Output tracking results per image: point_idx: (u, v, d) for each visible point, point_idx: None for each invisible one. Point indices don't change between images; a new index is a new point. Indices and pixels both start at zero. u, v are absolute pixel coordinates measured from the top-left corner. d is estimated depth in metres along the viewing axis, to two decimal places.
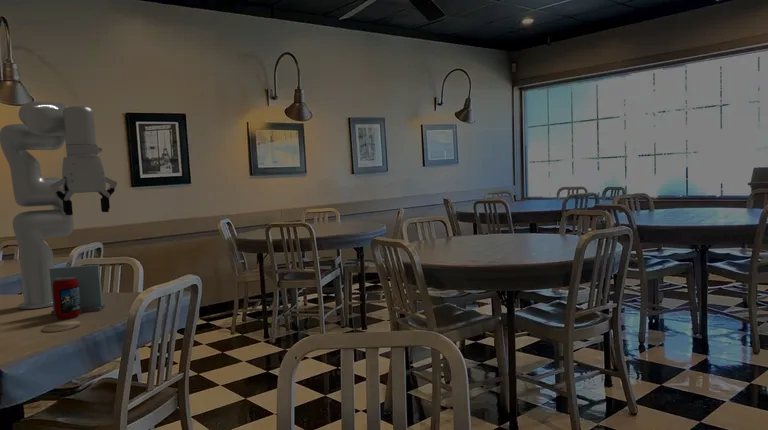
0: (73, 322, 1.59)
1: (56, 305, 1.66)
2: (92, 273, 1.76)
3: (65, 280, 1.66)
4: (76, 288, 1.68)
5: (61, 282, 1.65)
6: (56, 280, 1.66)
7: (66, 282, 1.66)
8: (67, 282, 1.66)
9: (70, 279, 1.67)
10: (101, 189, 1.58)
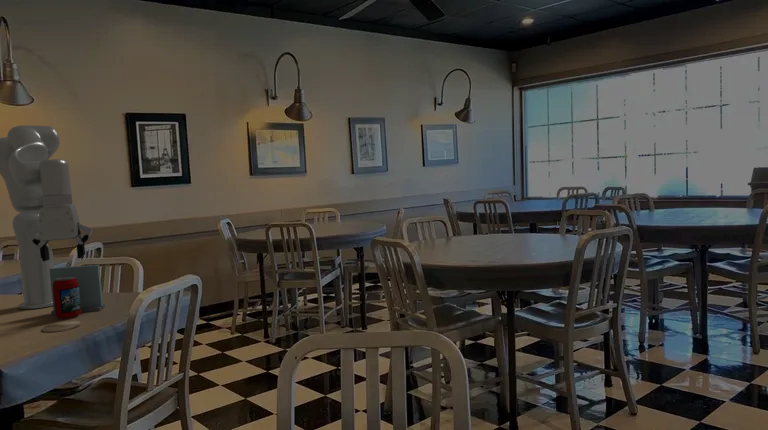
0: (73, 322, 1.59)
1: (56, 305, 1.66)
2: (92, 273, 1.76)
3: (65, 280, 1.66)
4: (76, 288, 1.68)
5: (61, 282, 1.65)
6: (56, 280, 1.66)
7: (66, 282, 1.66)
8: (67, 282, 1.66)
9: (70, 279, 1.67)
10: None
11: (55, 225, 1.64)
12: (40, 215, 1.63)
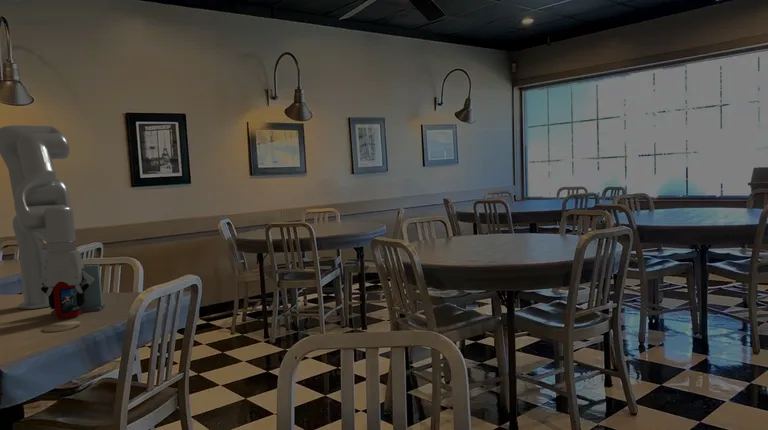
0: (73, 322, 1.59)
1: (56, 305, 1.65)
2: (92, 273, 1.76)
3: None
4: None
5: (61, 282, 1.65)
6: None
7: None
8: None
9: None
10: None
11: (59, 272, 1.65)
12: (44, 262, 1.64)
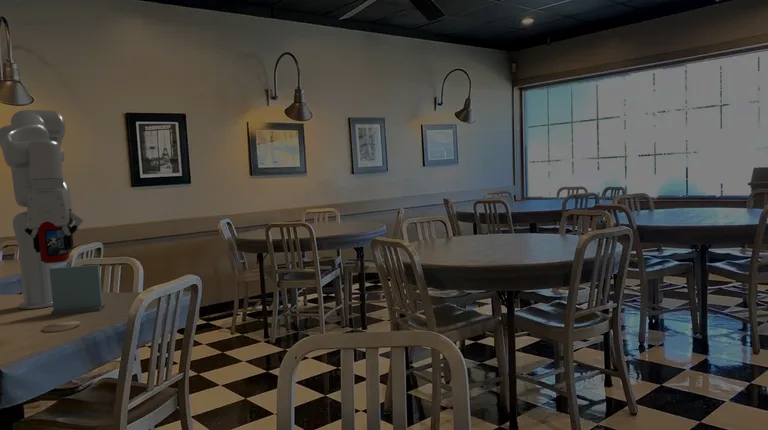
0: (73, 322, 1.59)
1: (41, 247, 1.52)
2: (92, 273, 1.76)
3: None
4: None
5: (47, 222, 1.51)
6: None
7: None
8: None
9: None
10: None
11: (45, 211, 1.51)
12: (29, 200, 1.51)
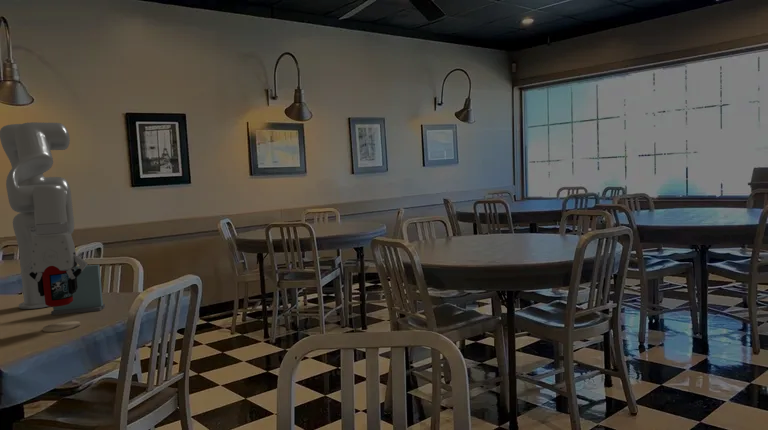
0: (73, 322, 1.59)
1: (46, 292, 1.53)
2: (92, 273, 1.76)
3: None
4: (67, 274, 1.55)
5: (51, 266, 1.52)
6: None
7: (56, 267, 1.53)
8: None
9: None
10: None
11: (49, 256, 1.52)
12: (33, 245, 1.52)
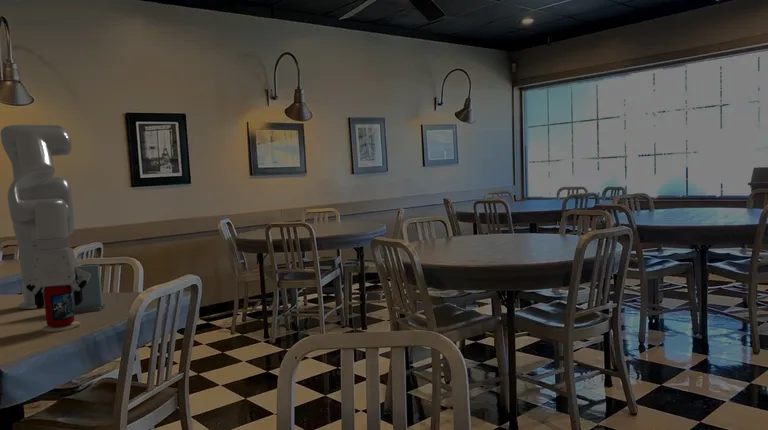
0: (73, 322, 1.59)
1: (47, 312, 1.53)
2: (92, 273, 1.76)
3: None
4: (69, 294, 1.55)
5: (53, 287, 1.53)
6: None
7: (58, 287, 1.53)
8: (60, 287, 1.53)
9: None
10: None
11: (51, 271, 1.52)
12: (35, 260, 1.52)
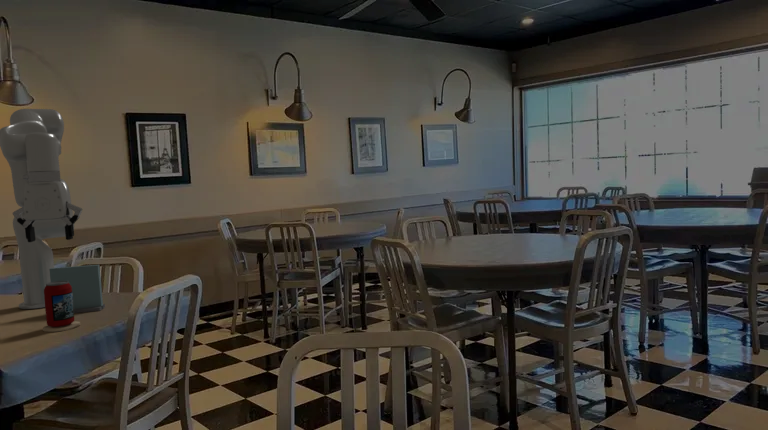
0: (73, 322, 1.59)
1: (47, 312, 1.53)
2: (92, 273, 1.76)
3: (58, 285, 1.53)
4: (69, 294, 1.55)
5: (53, 287, 1.53)
6: (48, 285, 1.53)
7: (59, 287, 1.53)
8: (60, 287, 1.53)
9: (63, 284, 1.54)
10: None
11: (41, 204, 1.52)
12: (25, 192, 1.51)
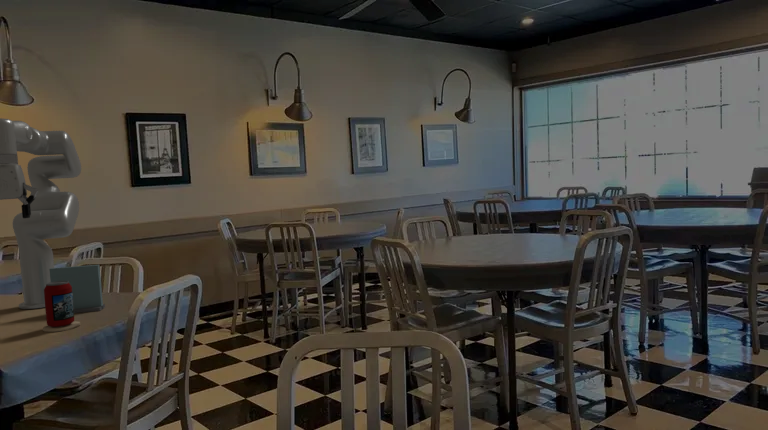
0: (73, 322, 1.59)
1: (48, 312, 1.53)
2: (92, 273, 1.76)
3: (58, 285, 1.53)
4: (69, 294, 1.55)
5: (53, 287, 1.53)
6: (48, 285, 1.53)
7: (59, 287, 1.53)
8: (60, 287, 1.54)
9: (63, 284, 1.54)
10: None
11: None
12: None
